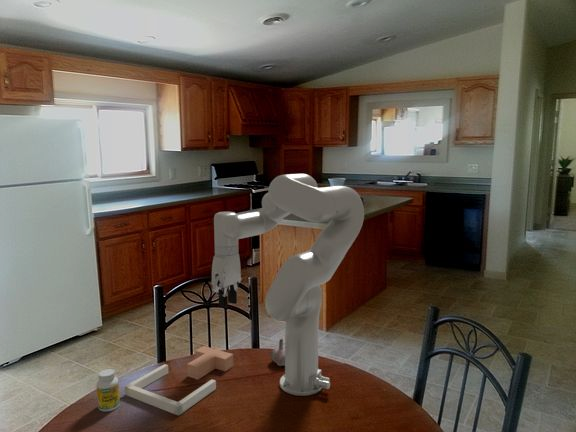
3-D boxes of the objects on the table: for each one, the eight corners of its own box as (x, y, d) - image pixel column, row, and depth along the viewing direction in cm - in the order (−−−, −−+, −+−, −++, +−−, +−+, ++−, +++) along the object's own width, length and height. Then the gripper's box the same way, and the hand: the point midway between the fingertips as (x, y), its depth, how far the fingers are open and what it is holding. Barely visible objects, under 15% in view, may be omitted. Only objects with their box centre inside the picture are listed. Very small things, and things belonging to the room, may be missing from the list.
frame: (216, 388, 126) (215, 380, 125) (178, 415, 113) (178, 406, 113) (164, 371, 136) (164, 364, 135) (125, 394, 123) (124, 386, 123)
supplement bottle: (117, 398, 121) (115, 365, 120) (122, 408, 117) (120, 373, 115) (96, 404, 118) (93, 371, 117) (100, 414, 114) (97, 379, 112)
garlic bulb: (273, 356, 146) (273, 333, 145) (295, 358, 145) (295, 335, 143) (267, 367, 139) (267, 343, 138) (290, 369, 137) (290, 345, 136)
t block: (233, 366, 139) (233, 354, 139) (208, 383, 129) (208, 370, 128) (204, 357, 145) (203, 345, 145) (177, 373, 135) (177, 360, 134)
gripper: (233, 244, 151) (234, 296, 154) (200, 254, 137) (202, 311, 139) (251, 246, 147) (252, 299, 150) (219, 257, 133) (220, 315, 136)
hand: (227, 304), depth 145 cm, fingers open, 4 cm apart
